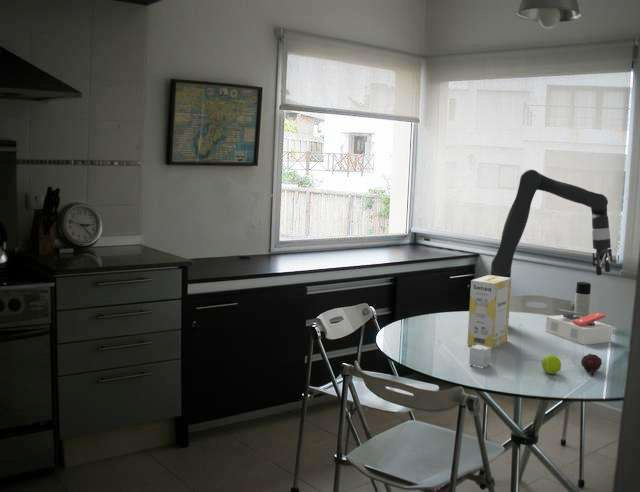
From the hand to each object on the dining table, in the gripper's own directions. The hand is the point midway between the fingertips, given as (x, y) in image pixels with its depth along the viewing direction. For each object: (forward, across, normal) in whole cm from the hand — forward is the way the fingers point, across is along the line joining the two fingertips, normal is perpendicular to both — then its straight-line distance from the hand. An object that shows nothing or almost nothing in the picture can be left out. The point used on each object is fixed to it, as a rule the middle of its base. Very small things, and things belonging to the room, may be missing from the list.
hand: (603, 273), depth 328 cm
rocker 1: (+17, +10, -12) cm, 24 cm away
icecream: (+28, +59, +21) cm, 68 cm away
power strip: (+27, +13, -8) cm, 31 cm away
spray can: (+27, -12, -19) cm, 35 cm away
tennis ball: (+26, +74, +13) cm, 79 cm away
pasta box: (+22, +56, -27) cm, 66 cm away
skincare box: (+22, +86, -10) cm, 90 cm away
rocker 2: (+18, +15, -1) cm, 24 cm away
